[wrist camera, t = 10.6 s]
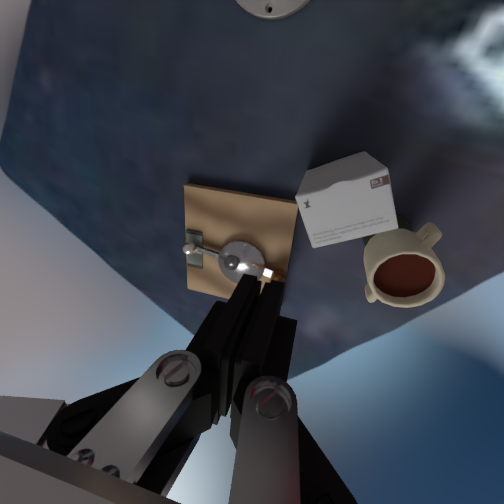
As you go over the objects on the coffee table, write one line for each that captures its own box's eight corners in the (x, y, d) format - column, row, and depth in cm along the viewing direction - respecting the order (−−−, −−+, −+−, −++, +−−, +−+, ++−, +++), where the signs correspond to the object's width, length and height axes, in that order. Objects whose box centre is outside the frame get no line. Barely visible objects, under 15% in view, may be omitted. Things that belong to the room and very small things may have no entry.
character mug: (380, 271, 42) (397, 329, 31) (340, 247, 42) (343, 297, 31) (436, 214, 36) (481, 260, 25) (390, 186, 36) (415, 220, 25)
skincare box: (316, 207, 40) (308, 253, 27) (304, 167, 38) (290, 196, 25) (377, 191, 37) (400, 233, 24) (368, 146, 35) (389, 167, 22)
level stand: (188, 183, 44) (182, 185, 42) (299, 201, 40) (298, 205, 39) (191, 284, 53) (186, 289, 52) (281, 306, 50) (279, 312, 48)
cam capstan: (185, 261, 49) (167, 279, 43) (190, 221, 45) (171, 236, 39) (279, 295, 47) (272, 318, 41) (293, 256, 42) (287, 277, 37)
